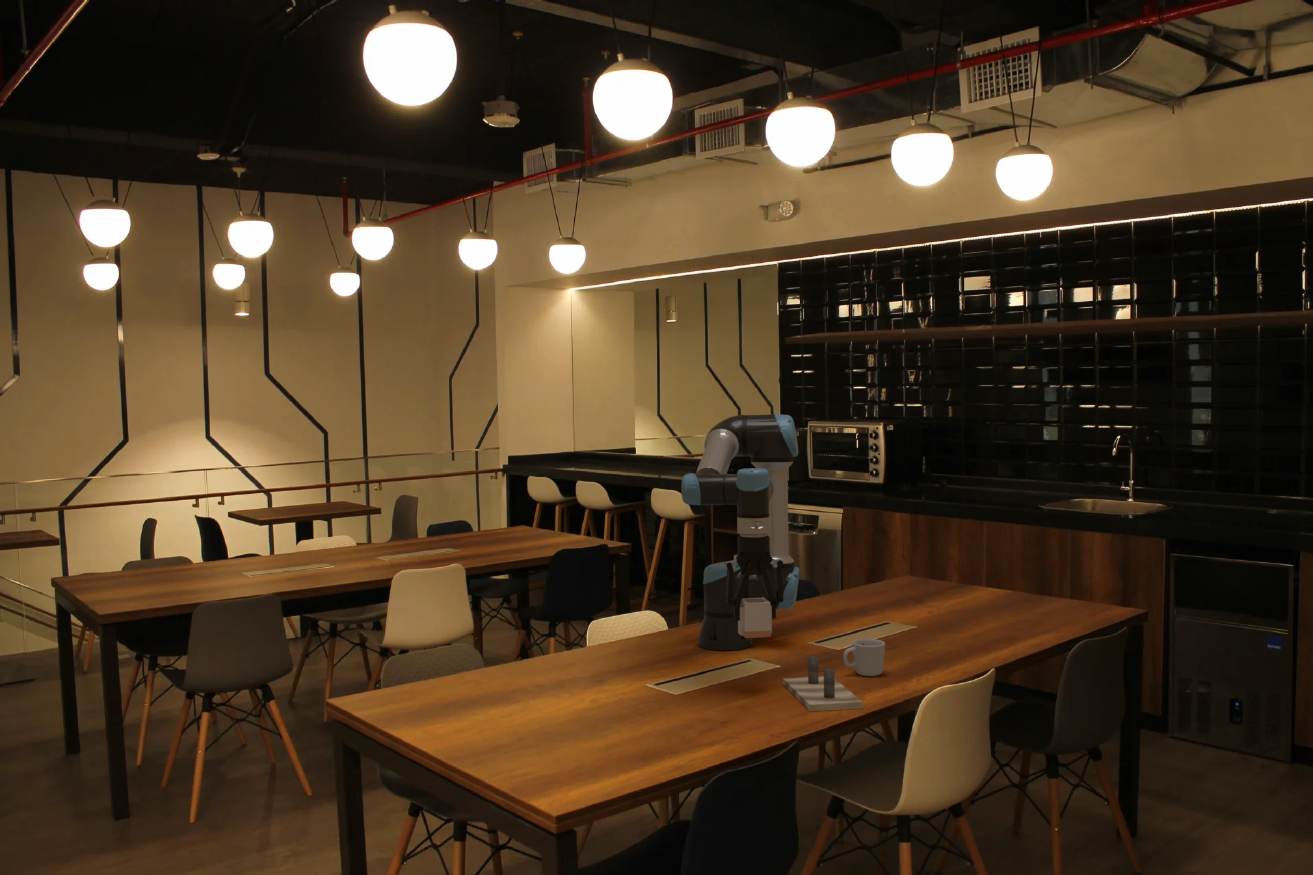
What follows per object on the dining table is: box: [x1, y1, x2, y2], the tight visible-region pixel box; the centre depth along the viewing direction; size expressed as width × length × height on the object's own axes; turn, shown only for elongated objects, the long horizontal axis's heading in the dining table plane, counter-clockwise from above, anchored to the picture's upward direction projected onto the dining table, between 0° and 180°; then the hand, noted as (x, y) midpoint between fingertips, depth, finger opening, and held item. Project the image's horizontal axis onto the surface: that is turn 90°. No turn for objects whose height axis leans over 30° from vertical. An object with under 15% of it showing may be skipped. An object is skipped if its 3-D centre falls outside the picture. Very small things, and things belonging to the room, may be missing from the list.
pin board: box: [782, 655, 864, 712], centre depth 230 cm, size 22×12×8 cm, turn 8°
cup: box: [842, 638, 886, 677], centre depth 248 cm, size 11×8×8 cm
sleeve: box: [740, 598, 772, 639], centre depth 234 cm, size 6×6×8 cm
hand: (754, 633), depth 234 cm, fingers closed on sleeve, 6 cm apart
